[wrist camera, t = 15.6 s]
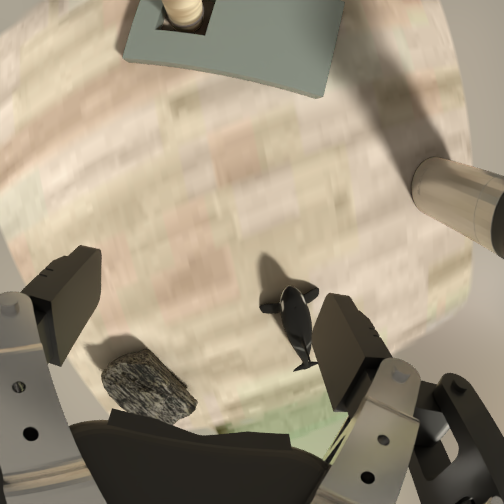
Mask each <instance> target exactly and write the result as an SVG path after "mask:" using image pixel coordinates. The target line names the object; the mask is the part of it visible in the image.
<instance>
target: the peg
mask: <svg viewBox="0 0 504 504" xmlns="http://www.w3.org/2000/svg"><path fill="white" fill-rule="evenodd" d="M162 2H163V5H164V7H165V9H166V12H167V17H168V20H169V21H170V23H171V24H172V26H173V27H174V29H175V30H177V31H178V32H182V33H191V32H194V31H196V30H197V29H199V28H200V27H201V25H202V23H203V20H204V17H203V15H204V6H203V4H202V0H162Z"/></svg>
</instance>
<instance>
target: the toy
mask: <svg viewBox="0 0 504 504" xmlns="http://www.w3.org/2000/svg"><path fill="white" fill-rule="evenodd" d="M318 294H319V288H315V289H313V290H311V291H310V292H308V293H307V294H305V295H302V293H301V292H300V291H299V290H298V289H297V288H296V287H294V286H291V285H288V286H287V287H286V288H285V289H284V290H283V292H282V295H281V299H280V303H276V304H264V305H261V306H259V308H260V310H261V311H262V312H263V313H279V312H281V317H282V321H283V325H284V328H285V331H286V334H287V336H288V338H289V340H290V342H291V344H292V346H293V348H294V349H295V351H296V352H297V354H298V355H299V356H300V358H301V359H302V360H303V364H302V365H300V366H299V367H297V368H296V369H295V370H294V371H298V370H302V369H308V368H310V367H311V366H313V365H316V364H318V362H311V361H310V357H309V354H310V350H311V344H312V322H311V316H310V312H309V309H308V306H307V303H310V302H311V301H313V300H314V299H315V298H316V297H317V296H318ZM308 360H309V362H308ZM294 371H293V372H294Z"/></svg>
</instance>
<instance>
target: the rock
mask: <svg viewBox="0 0 504 504" xmlns="http://www.w3.org/2000/svg"><path fill="white" fill-rule="evenodd" d="M101 377H102V383H103V385H104V388H105V389H106V391H107V392H108V394H109V396H110V397H112V398H113V399H114V401H115V402H116V403H117V404H118V405H119V406H120V407H121V408H123V409H124V410H125V411H127V412H130V413H133V414H137V415H142V416H146V417H151V418H156V419H158V420H160V421H163V422H165V423H168V424H170V425H173V424H175V423H176V422H177V421H178V420H179V419H182V418H184V417H187V416H189V415H190V414H192V412H193V411H195V409H196V406H197V403H198V402H197V400H196V399H194V397H193V396H191V395H190V393H189V392H188V391H187V390H186V389H185V388H184V387H183V385H182V384H181V383H180V382H179V381H178V380H177V379H176V378H175V377H174V376H173V374H172V373H171V372H170V371H169V370H168V369H167V368H166V367H165V366H164V365H163V364H162V362H161V361H160V360H159V359H157V358H156V357H155V355H154V354H153V353H152V352H151V351H150V350H147V349H145V350H143V351H141V352H138V353H132V354H128V355H125V356H122V357H120V358H118V359H117V360H115V361H113V362H111V363H109V365H108V368H107V369H104V371H103V372H102V374H101Z"/></svg>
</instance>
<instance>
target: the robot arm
mask: <svg viewBox="0 0 504 504" xmlns="http://www.w3.org/2000/svg"><path fill="white" fill-rule="evenodd" d="M412 197H413V200H414V203H415V205H416V206H417V208H418V209H419V210H420V211H421V212H423V213H424V214H426V215H428V216H430V217H432V218H434V219H436V220H437V221H439V222H441V223H443V224H445V225H446V226H448V227H450V228H452V229H454V230H455V231H457V232H459V233H461V234H463V235H464V236H466V237H468V238H470V239H471V240H473V241H475V242H477V243H478V244H480V245H482V246H483V247H485V248H487V249H488V250H491V251H492V252H493V253H495V254H497V255H498V256H499V257H501V258H503V259H504V176H502V175H499V174H496V173H493V172H490V171H486V170H483V169H480V168H476V167H473V166H469V165H465V164H462V163H458V162H455V161H451V160H447V159H443V158H438V157H432V158H429V159H427V160H425V161H424V162H422V163H421V165H420V166H419V167H418V168H417V170H416V172H415V174H414V177H413V181H412ZM101 260H102V255H101V250H100V249H96V248H92V247H87V246H83V245H80V246H78V247H77V248H76V249H75V250H74V251H73V252H72V253H71V254H70V255H69V256H63V257H60V258H58V259H56V260H53V261H52V262H51V263H50V264H49V265H48V266H47V267H46V268H45V269H44V270H42V271H41V272H40V273H39V275H37V276H36V277H35V278H34V279H33V280H32V281H31V282H30V283H29V284H28V285H27V286H26V287H25V288H24V289H23V290H22V291H21V292H4V293H2V294H0V504H396V501H397V498H398V496H399V493H400V490H401V487H402V484H403V481H404V478H405V475H406V471H407V468H408V467H409V470H410V473H411V475H412V478H413V481H414V484H415V487H416V490H417V493H418V496H419V499H420V502H421V504H504V437H503V435H502V434H501V432H500V430H499V428H498V427H497V425H496V423H495V422H494V420H493V418H492V417H491V415H490V413H489V412H488V410H487V409H486V407H485V405H484V404H483V402H482V401H481V399H480V398H479V396H478V394H477V393H476V392H475V390H474V388H473V387H472V386H471V384H470V383H469V382H468V381H467V380H466V379H464V378H463V377H461V376H459V375H456V374H453V373H447V374H444V375H443V376H442V378H441V379H440V381H439V382H438V384H433V383H429V382H425V381H421V377H420V375H419V373H418V371H417V370H416V369H415V368H414V367H413V366H412V365H411V364H409V363H408V362H405V361H404V360H401V359H398V358H393V357H392V355H391V354H390V352H389V350H388V349H387V347H386V345H385V344H384V342H383V340H382V339H381V337H379V334H378V332H377V331H376V330H375V327H374V326H373V324H372V323H371V321H370V319H369V318H367V317H366V316H365V315H364V314H363V313H362V312H361V311H358V309H357V307H356V306H355V304H354V302H353V301H352V299H351V298H350V296H346V295H340V294H334V293H329V294H328V295H327V296H326V298H325V300H324V302H323V305H322V308H321V310H320V313H319V315H318V318H317V320H316V323H315V326H314V328H313V332H312V346H313V349H314V352H315V355H316V358H317V362H318V365H319V368H320V371H321V374H322V377H323V380H324V383H325V386H326V389H327V392H328V395H329V399H330V402H331V405H332V408H333V411H334V412H348V415H349V416H348V417H347V419H346V420H345V422H344V423H343V425H342V427H341V429H340V431H339V432H338V434H337V435H336V437H335V439H334V440H333V442H332V444H331V445H330V447H329V449H328V450H327V452H326V454H325V455H324V457H323V459H321V458H319V457H317V456H315V455H313V454H311V453H308V452H306V451H304V450H301V449H298V448H295V447H291V443H290V437H289V434H275V433H259V432H239V433H229V434H219V435H206V436H202V435H197V434H194V433H191V432H188V431H186V430H183V429H180V428H178V427H175V426H173V425H170V424H168V423H165V422H163V421H160V420H158V419H156V418H151V417H146V416H142V415H137V414H133V413H129V412H125V411H121V410H117V409H113V408H112V411H111V414H110V417H109V420H94V421H86V422H80V423H77V424H73V425H70V426H68V423H67V421H66V418H65V416H64V413H63V410H62V408H61V405H60V402H59V399H58V396H57V393H56V390H55V387H54V384H53V381H52V378H51V375H50V371H49V368H48V363H51V364H54V365H57V366H60V367H61V366H62V364H63V362H64V361H65V359H66V357H67V355H68V354H69V352H70V350H71V348H72V347H73V345H74V343H75V342H76V340H77V338H78V336H79V335H80V333H81V331H82V330H83V328H84V327H85V325H86V323H87V322H88V320H89V318H90V317H91V315H92V314H93V312H94V310H95V309H96V307H97V305H98V303H99V300H100V295H101ZM449 429H451V431H452V432H453V435H454V437H455V439H456V441H457V443H458V446H459V452H458V456H457V458H456V459H455V460H454V461H453V462H452V463H451V462H450V460H449V457H448V455H447V453H446V451H445V448H444V446H443V444H442V442H441V440H440V439H441V438H442V437H443V436H444V435H445V434H446V432H447V431H448V430H449Z"/></svg>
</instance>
